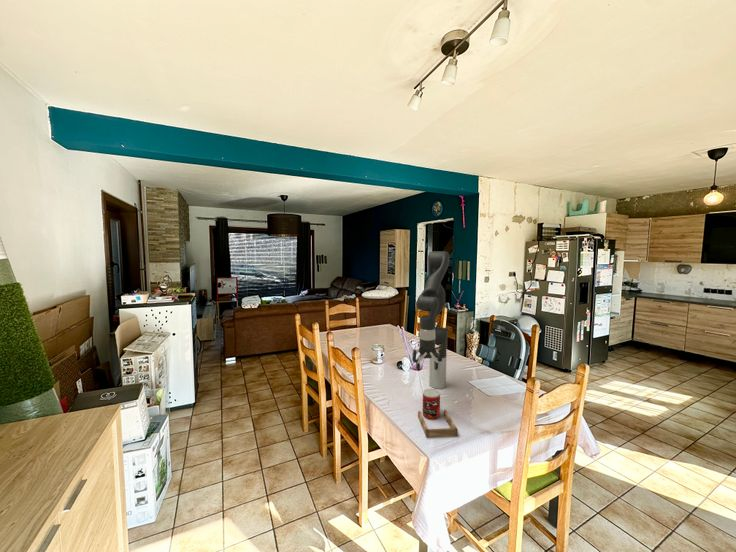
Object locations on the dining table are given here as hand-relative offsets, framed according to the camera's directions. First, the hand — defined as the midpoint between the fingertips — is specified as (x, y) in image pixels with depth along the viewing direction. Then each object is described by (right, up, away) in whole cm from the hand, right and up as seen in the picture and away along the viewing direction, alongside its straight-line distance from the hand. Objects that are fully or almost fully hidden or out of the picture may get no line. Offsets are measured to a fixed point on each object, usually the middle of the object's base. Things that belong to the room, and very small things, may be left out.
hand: (427, 369), depth 149 cm
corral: (+1, -20, -16) cm, 25 cm away
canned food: (0, -19, -7) cm, 20 cm away
